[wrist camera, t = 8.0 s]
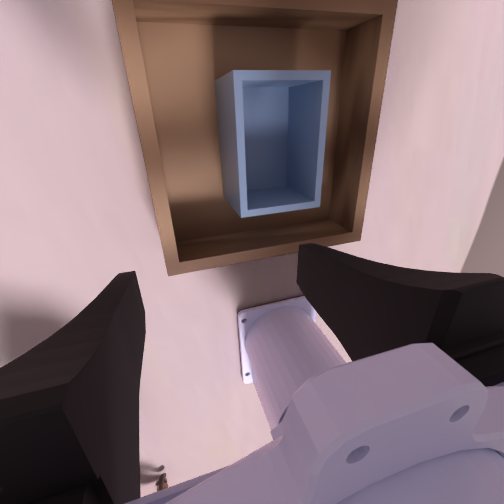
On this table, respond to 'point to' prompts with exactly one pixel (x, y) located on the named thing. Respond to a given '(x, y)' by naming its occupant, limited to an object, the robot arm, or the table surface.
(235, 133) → the blue crate
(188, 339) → the table surface
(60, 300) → the table surface
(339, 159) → the tray
